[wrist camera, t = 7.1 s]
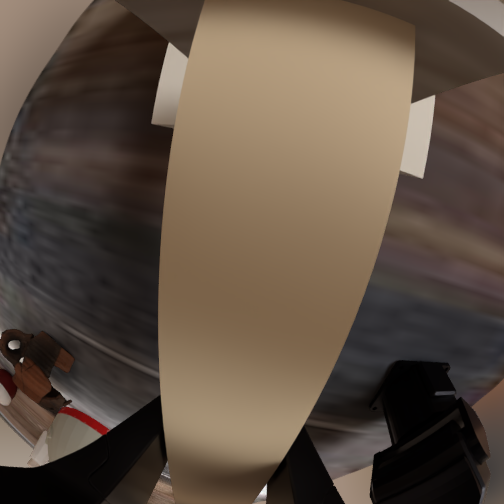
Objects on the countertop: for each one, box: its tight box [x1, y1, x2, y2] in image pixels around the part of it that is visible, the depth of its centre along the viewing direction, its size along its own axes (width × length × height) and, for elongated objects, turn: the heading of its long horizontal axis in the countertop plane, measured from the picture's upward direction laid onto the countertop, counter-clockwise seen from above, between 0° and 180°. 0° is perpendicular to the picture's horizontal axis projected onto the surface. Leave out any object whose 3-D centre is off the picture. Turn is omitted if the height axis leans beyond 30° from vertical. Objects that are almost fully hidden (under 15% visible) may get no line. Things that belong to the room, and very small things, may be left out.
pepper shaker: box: [27, 430, 49, 467], centre depth 34 cm, size 5×5×11 cm
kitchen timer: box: [45, 407, 110, 462], centre depth 25 cm, size 14×14×15 cm
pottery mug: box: [0, 329, 75, 413], centre depth 24 cm, size 12×10×8 cm
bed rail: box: [115, 0, 504, 504], centre depth 7 cm, size 23×6×5 cm, turn 170°
